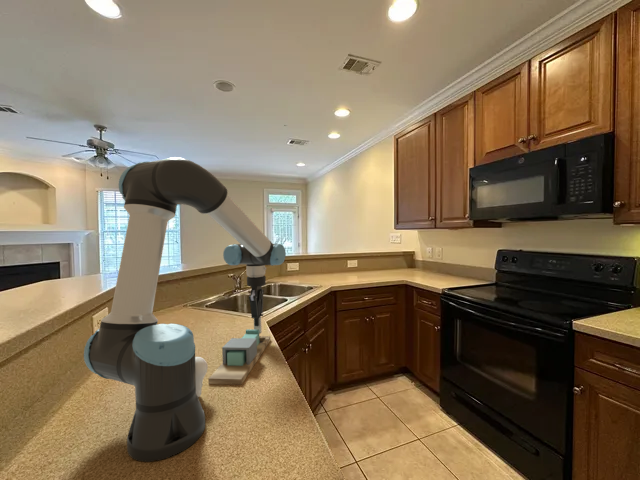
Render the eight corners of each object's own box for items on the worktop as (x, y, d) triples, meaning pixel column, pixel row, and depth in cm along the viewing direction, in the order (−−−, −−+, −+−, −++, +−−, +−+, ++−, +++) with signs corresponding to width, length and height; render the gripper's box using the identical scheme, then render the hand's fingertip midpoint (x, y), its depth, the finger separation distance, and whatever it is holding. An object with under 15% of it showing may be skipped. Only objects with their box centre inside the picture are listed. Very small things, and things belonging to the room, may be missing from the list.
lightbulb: (212, 397, 77) (211, 357, 77) (189, 407, 72) (188, 365, 72) (202, 388, 81) (201, 351, 81) (180, 398, 77) (178, 358, 76)
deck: (241, 384, 83) (241, 379, 83) (208, 383, 84) (208, 378, 84) (270, 340, 117) (270, 336, 117) (246, 340, 118) (246, 336, 118)
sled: (242, 365, 91) (242, 349, 91) (227, 365, 91) (227, 349, 91) (259, 342, 110) (259, 329, 110) (247, 342, 110) (246, 329, 110)
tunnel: (249, 364, 92) (249, 347, 92) (222, 364, 93) (222, 347, 92) (256, 354, 100) (256, 338, 100) (232, 353, 101) (231, 338, 100)
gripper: (260, 278, 109) (262, 339, 109) (269, 273, 122) (270, 327, 122) (241, 278, 109) (243, 338, 110) (252, 273, 122) (253, 327, 123)
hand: (257, 332), depth 116 cm, fingers closed
